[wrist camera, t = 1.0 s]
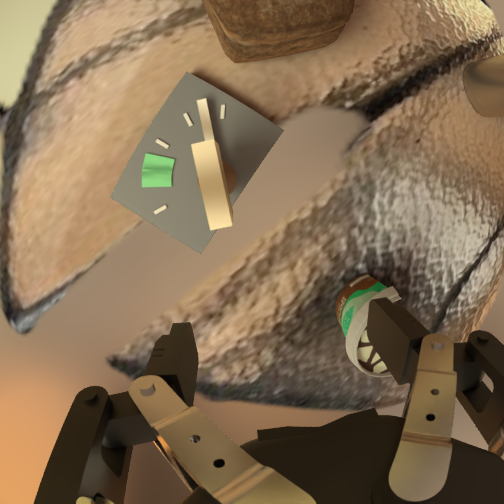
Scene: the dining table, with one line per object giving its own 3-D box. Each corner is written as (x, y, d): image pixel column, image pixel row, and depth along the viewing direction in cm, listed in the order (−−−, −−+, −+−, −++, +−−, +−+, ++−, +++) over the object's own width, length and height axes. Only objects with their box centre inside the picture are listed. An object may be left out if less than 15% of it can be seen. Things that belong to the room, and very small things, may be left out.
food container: (322, 273, 38) (348, 309, 28) (365, 262, 38) (401, 293, 28) (330, 347, 42) (352, 392, 32) (368, 336, 41) (396, 376, 32)
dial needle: (242, 205, 33) (246, 223, 24) (207, 212, 33) (197, 233, 24) (220, 96, 29) (214, 71, 20) (184, 105, 29) (164, 83, 20)
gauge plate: (281, 131, 32) (284, 130, 31) (202, 250, 36) (201, 254, 34) (188, 75, 29) (186, 71, 28) (114, 195, 33) (109, 197, 32)
